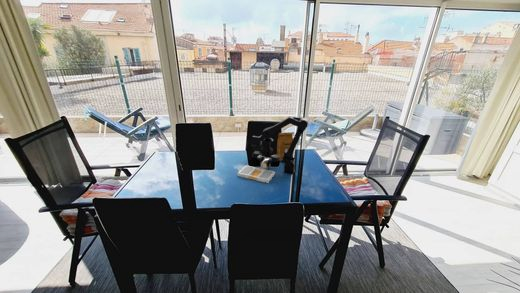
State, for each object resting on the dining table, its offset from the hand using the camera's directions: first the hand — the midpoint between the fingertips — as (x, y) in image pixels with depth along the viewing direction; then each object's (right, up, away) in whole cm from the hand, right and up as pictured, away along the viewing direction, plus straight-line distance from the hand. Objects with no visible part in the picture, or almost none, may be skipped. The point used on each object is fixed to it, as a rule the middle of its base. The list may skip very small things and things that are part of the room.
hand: (265, 167), depth 155 cm
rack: (-6, -5, -9) cm, 12 cm away
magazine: (-3, +6, +16) cm, 18 cm away
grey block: (0, -1, 0) cm, 1 cm away
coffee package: (+15, +5, +15) cm, 22 cm away
